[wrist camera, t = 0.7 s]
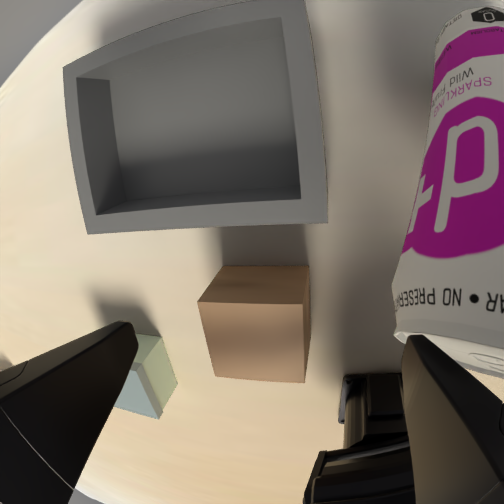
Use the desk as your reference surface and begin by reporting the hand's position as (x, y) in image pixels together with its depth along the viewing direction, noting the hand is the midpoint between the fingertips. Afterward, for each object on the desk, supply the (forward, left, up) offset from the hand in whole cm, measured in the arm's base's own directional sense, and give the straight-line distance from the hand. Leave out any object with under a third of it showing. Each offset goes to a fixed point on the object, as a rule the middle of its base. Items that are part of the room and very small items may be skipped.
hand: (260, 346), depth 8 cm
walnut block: (-6, +3, -13) cm, 14 cm away
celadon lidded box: (-13, +16, -13) cm, 24 cm away
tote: (+7, +6, -13) cm, 15 cm away
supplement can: (+10, -13, -9) cm, 18 cm away
